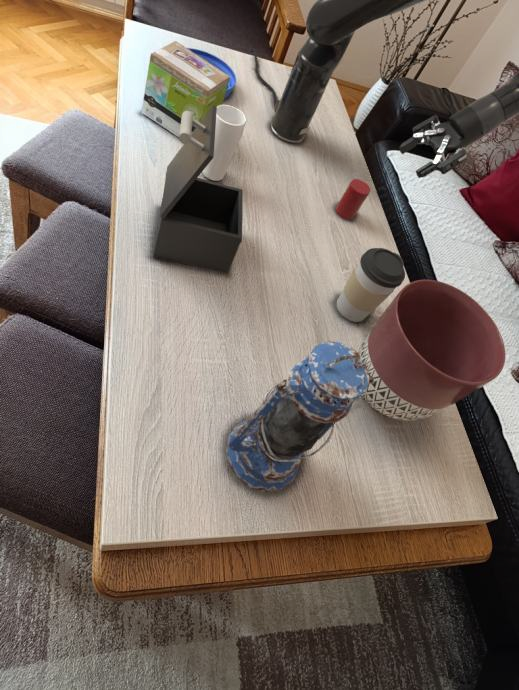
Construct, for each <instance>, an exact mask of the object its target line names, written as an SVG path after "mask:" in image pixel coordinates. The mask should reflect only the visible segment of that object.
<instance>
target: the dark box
mask: <svg viewBox="0 0 519 690" xmlns="http://www.w3.org/2000/svg"><path fill="white" fill-rule="evenodd" d="M243 194H244V190H243V189H242V188H239V187H236V186H231V185H228V184H224V183H220V182H217V181H213V180H209V179H204V178H201V177H197V179H196V180H195V181H194V182H193V184H192V185H191V186H190V187H189V188H188V190H187V191H186V192H185V193H184V195H183V196H182V197H181V198H180V199H179V201H178V202H177V203H176V204H175V206H174V207H173V208H172V209H171V211H170V212H169V213H168V214H167V215H166V217H165V218H164V219H163V218H162V217H160V213H161V206H162V202H161V203H160V206H159V207H160V208H159V212H158V213H159V214H158V221H157V228H156V234H155V240H154V246H153V247H154V248H153V253H152V257H153V258H154V259H158V260H163V261H169V262H173V263H177V264H180V265H181V264H182V265H186V266H191V267H196V268H199V269H200V268H201V269H205V270H209V271H215V272H219V273H222V274H223V273H224V274H229V272H230V270H231V267H232V264H233V262H234V259H235V257H236V254H237V253H238V250H239V247H240V246H241V243H242V240H243V211H244V210H243V209H244V208H243V207H244V206H243V205H244V203H243V202H244V201H243V200H244V196H243ZM162 199H163V197H162V198H161V200H162Z"/></svg>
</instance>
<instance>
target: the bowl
mask: <svg viewBox="0 0 519 690" xmlns="http://www.w3.org/2000/svg"><path fill="white" fill-rule="evenodd" d="M186 48H187V49H189V50H190V51H192V52H193V53H195V54H197V55H198V56H200V57H201V58H203V59H204V60H206V61H207V62H209V63H210V64H212V65H213V66H215V67H216V68H218V69H220V70H221V71H223V72H224V73H226V74H227V75H229V76H230V79H229V83H228V86H227V90H226V93H225V97H224V100H225V99H227V98H228V97H229V96H230V95H231V93H232V91H233V90H234V88H235V86H236V84H237V75H236V74H235V71H234V70H233V69H232V67H231V66H230V65H229V64H228V63H227V62H225V61H224V60H223V59H222V58H220V57H218V56H216V55H214V54H212V53H210V52H207V51H205V50H202V49H197V48H192V47H186Z"/></svg>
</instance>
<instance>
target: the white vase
mask: <svg viewBox="0 0 519 690" xmlns="http://www.w3.org/2000/svg"><path fill="white" fill-rule="evenodd" d="M246 122H247V118H246V115H245V114H244V112H243V111H242V110H241V109H238V108H237V107H236V106H233V105H229V104H222V105H219V106H217V113H216V128H215V143H214V158H213V159H212V160H211V161H210V163H209V164H208V165H207V166H206V168H205V169H204V170H203V171H202V172H201V174H203V176H204V177H205V178H207V180H209V181H212V182H219V181H222V180H223V179H224V178H225V176H226V173H227V170H228V168H229V166H230V164H231V161H232V159H233V157H234V155H235V152H236V150H237V148H238V146H239V143H240V141H241V139H242V136H243V133H244V130H245V126H246Z"/></svg>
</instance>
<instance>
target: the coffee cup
mask: <svg viewBox="0 0 519 690" xmlns="http://www.w3.org/2000/svg"><path fill="white" fill-rule="evenodd" d="M404 266H405V265H404V260H403V258H402V256H401V255H400V254H399V253H396V252H393V251H391V250H390V249H387V248H383V247H372V248H369V249H367V250H366V251H365V252H364V253H363V254H362V255H361V256H360V260H359V262H358V263H357V264H356V266H355V267H354V269H353V271H352V273H351V275H350V276H349V278H348V279H347V281H346V283H345V284H344V288H343V290H342V291H341V293H340V295H339V297H337V300H336V307H337V310H338V312H339V314H340V315H341V316H343V317H344V318H345V319H346V320H348V321H351V322H354V323H360V322H362V321H364V320H365V319H367V317H368V316H369V315H370V314H371V313H372V312H373V311H375V310H376V309H377V308H378V307H379V306H380V305H381V304H383V302H384V301H385V300H386V299H388V297H389V296H391V294H392V293H394V291H395V289H397V288H398V287H400V286H401V285H402V284H403V282H404V281H405V278H406V271H405V268H404Z"/></svg>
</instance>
